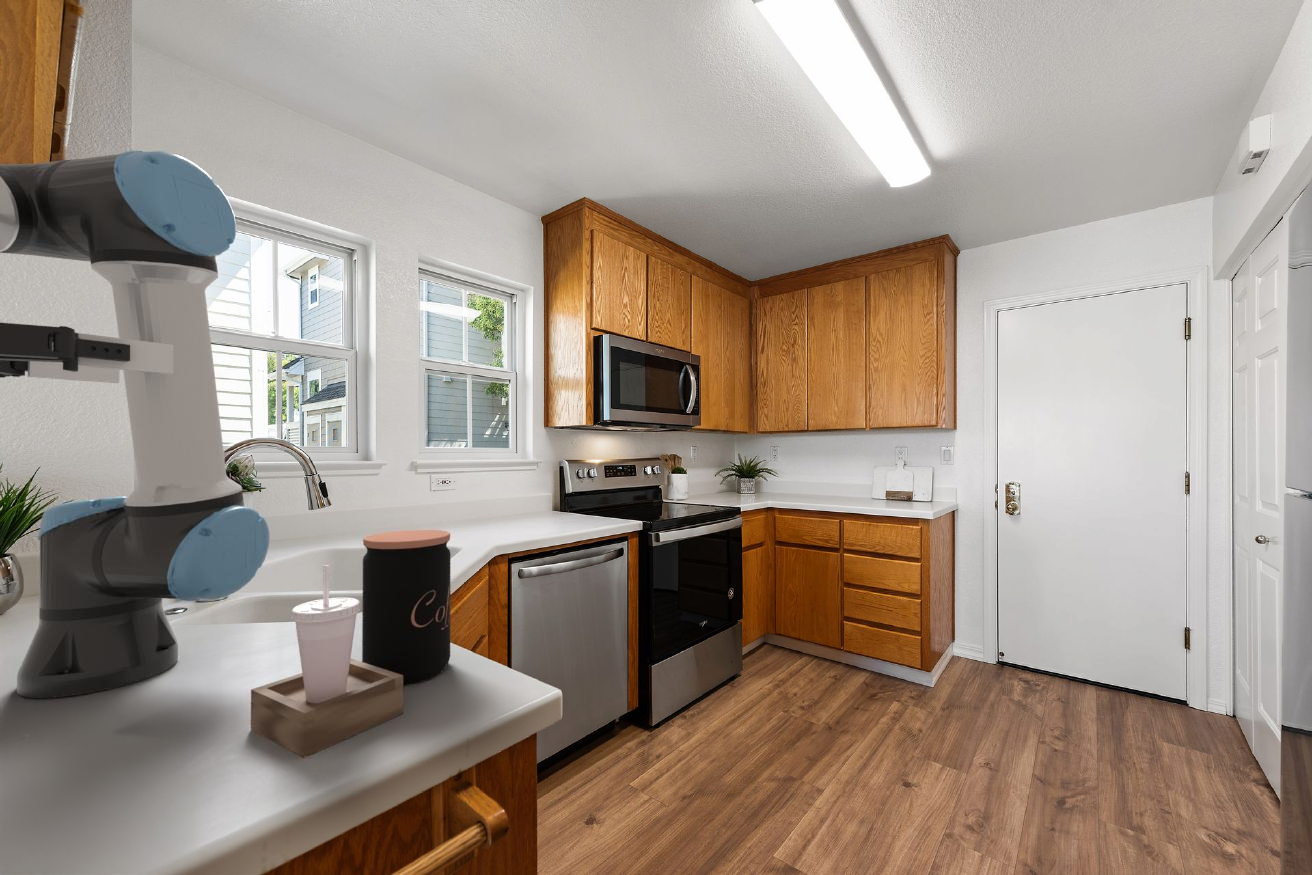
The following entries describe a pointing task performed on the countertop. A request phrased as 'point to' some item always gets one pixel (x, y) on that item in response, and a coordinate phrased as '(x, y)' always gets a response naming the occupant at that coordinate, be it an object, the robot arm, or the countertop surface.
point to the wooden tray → (325, 709)
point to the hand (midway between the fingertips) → (143, 365)
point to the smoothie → (325, 642)
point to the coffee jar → (407, 603)
